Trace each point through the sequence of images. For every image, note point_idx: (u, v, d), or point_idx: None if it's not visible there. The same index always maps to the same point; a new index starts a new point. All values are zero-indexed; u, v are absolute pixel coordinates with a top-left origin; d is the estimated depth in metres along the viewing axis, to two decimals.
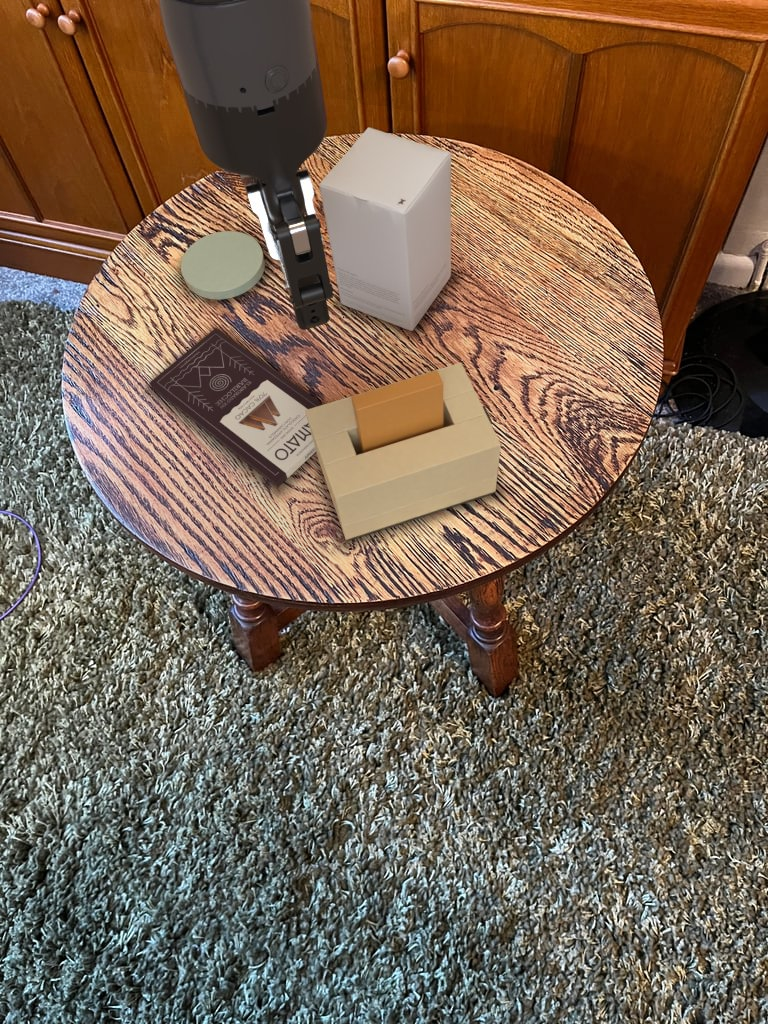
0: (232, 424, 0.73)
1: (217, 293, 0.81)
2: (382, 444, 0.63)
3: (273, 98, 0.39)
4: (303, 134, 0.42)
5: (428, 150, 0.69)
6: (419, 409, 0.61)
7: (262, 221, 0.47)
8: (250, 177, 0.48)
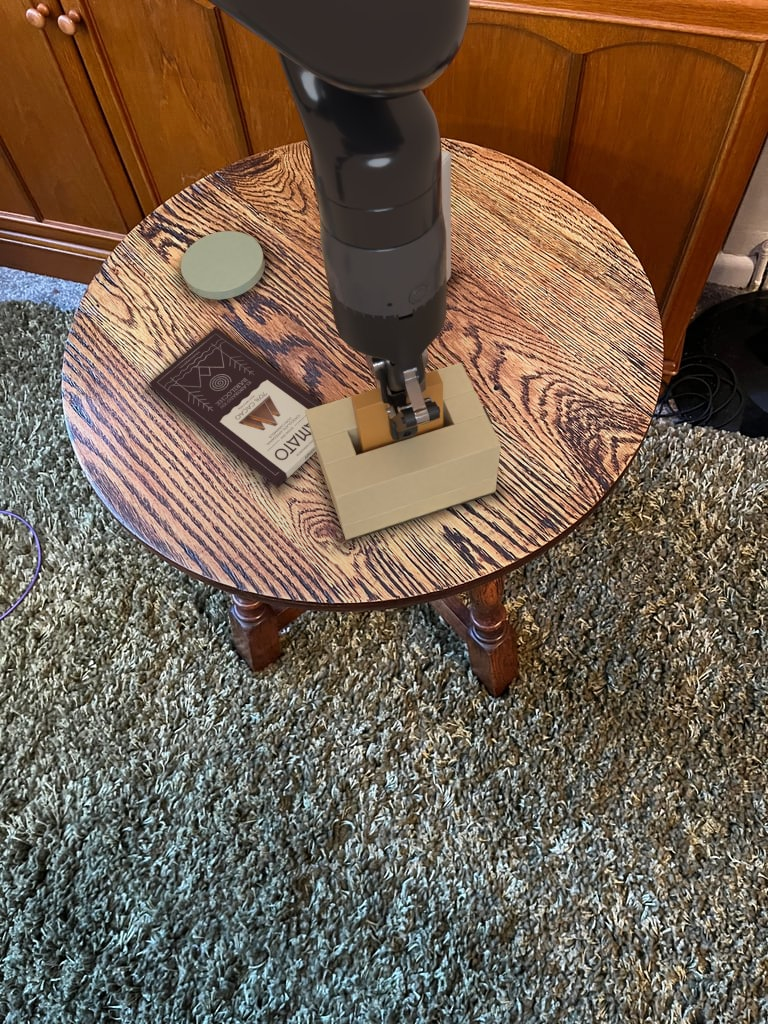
0: (232, 424, 0.73)
1: (217, 293, 0.81)
2: (382, 444, 0.63)
3: (413, 308, 0.46)
4: (431, 327, 0.49)
5: None
6: None
7: (381, 384, 0.54)
8: None
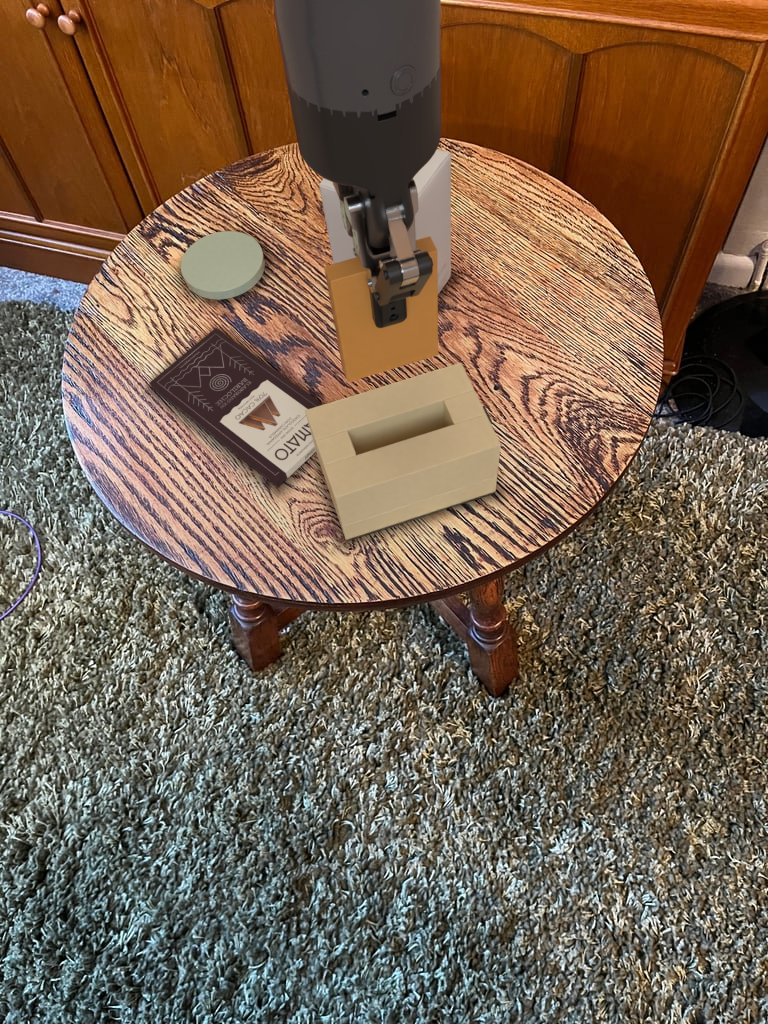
0: (232, 424, 0.73)
1: (217, 293, 0.81)
2: (364, 336, 0.52)
3: (396, 101, 0.35)
4: (421, 141, 0.38)
5: None
6: None
7: (360, 237, 0.43)
8: None
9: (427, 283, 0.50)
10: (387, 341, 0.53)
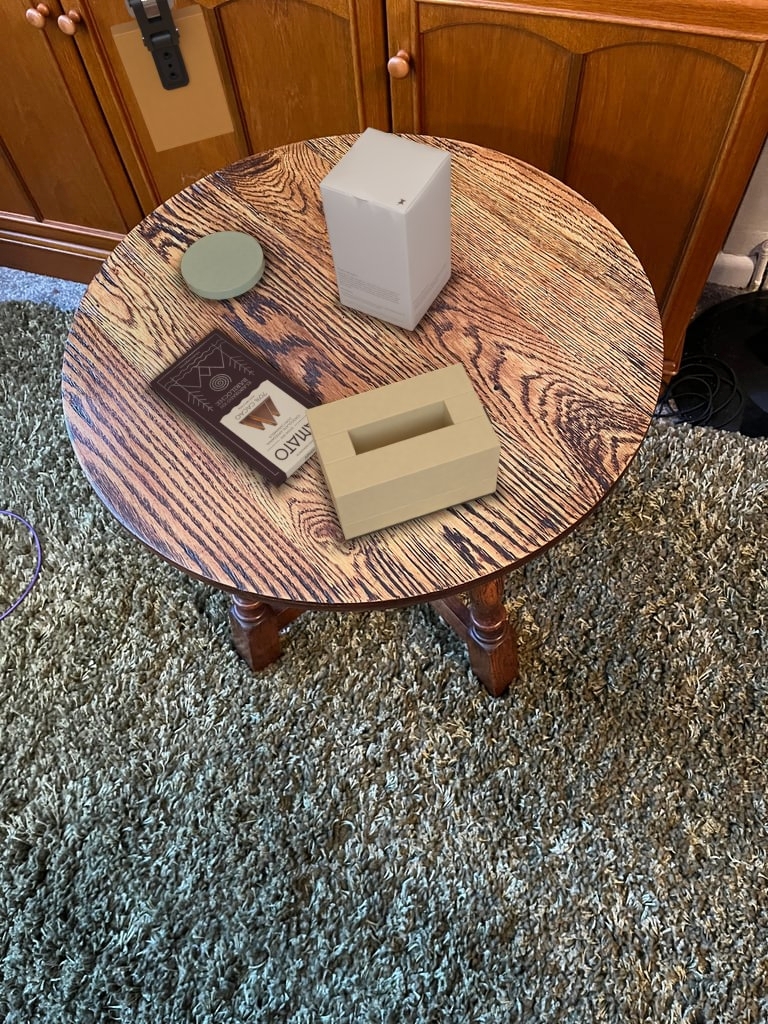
0: (232, 424, 0.73)
1: (217, 293, 0.81)
2: (158, 101, 0.63)
3: None
4: None
5: (428, 150, 0.69)
6: (185, 50, 0.60)
7: None
8: None
9: (202, 48, 0.61)
10: (182, 110, 0.64)
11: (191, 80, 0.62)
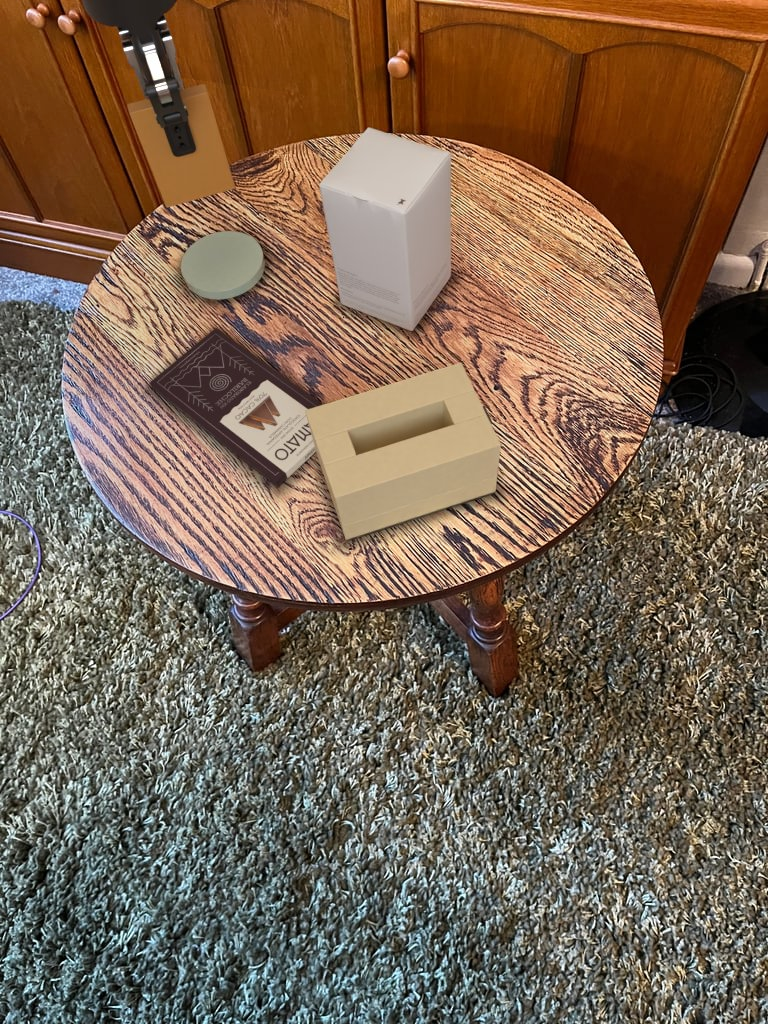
0: (232, 424, 0.73)
1: (217, 293, 0.81)
2: (168, 165, 0.71)
3: None
4: None
5: (428, 150, 0.69)
6: (192, 122, 0.69)
7: (137, 72, 0.62)
8: (129, 39, 0.63)
9: (207, 121, 0.69)
10: (189, 172, 0.73)
11: (197, 147, 0.71)
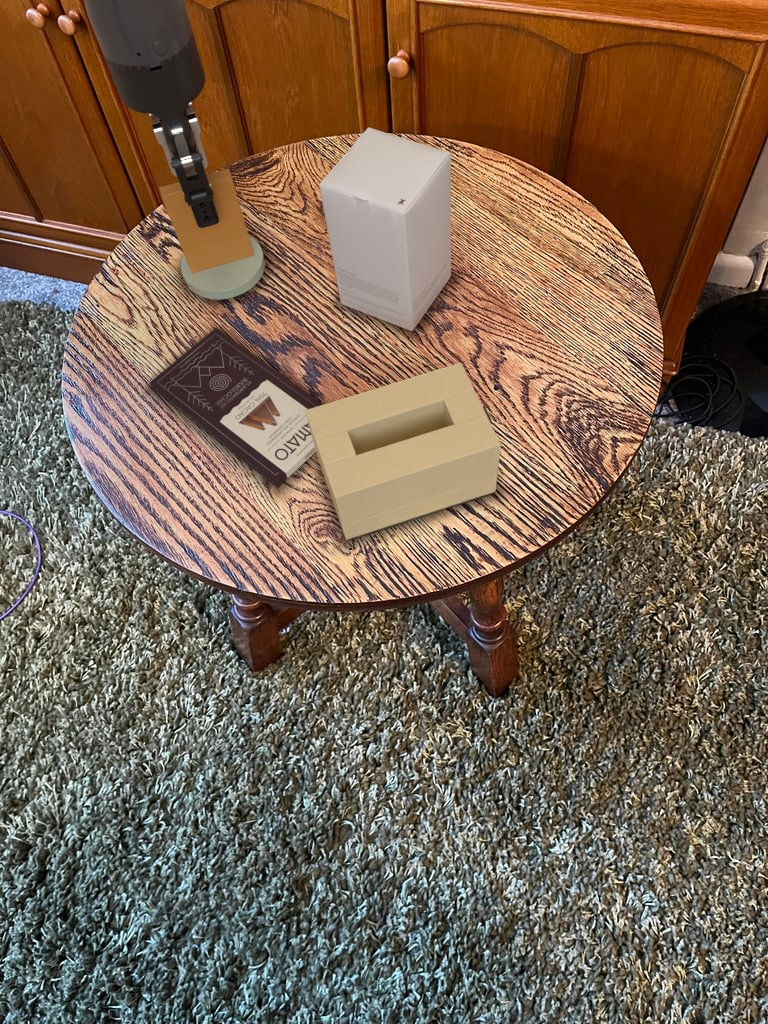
0: (232, 424, 0.73)
1: (217, 293, 0.81)
2: (195, 238, 0.79)
3: (160, 60, 0.60)
4: (184, 85, 0.63)
5: (428, 150, 0.69)
6: (217, 202, 0.76)
7: (165, 150, 0.68)
8: (158, 119, 0.69)
9: (230, 200, 0.77)
10: (213, 243, 0.80)
11: (221, 222, 0.78)
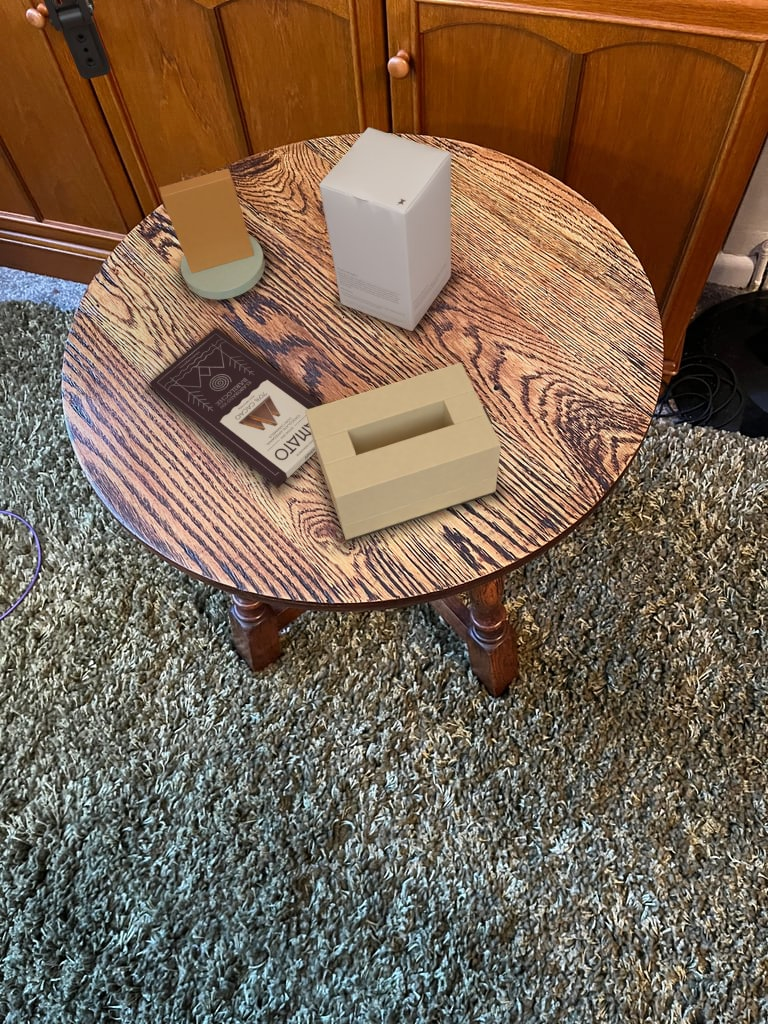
0: (232, 424, 0.73)
1: (217, 293, 0.81)
2: (195, 238, 0.79)
3: None
4: None
5: (428, 150, 0.69)
6: (217, 202, 0.76)
7: None
8: None
9: (230, 200, 0.77)
10: (213, 243, 0.80)
11: (221, 222, 0.78)
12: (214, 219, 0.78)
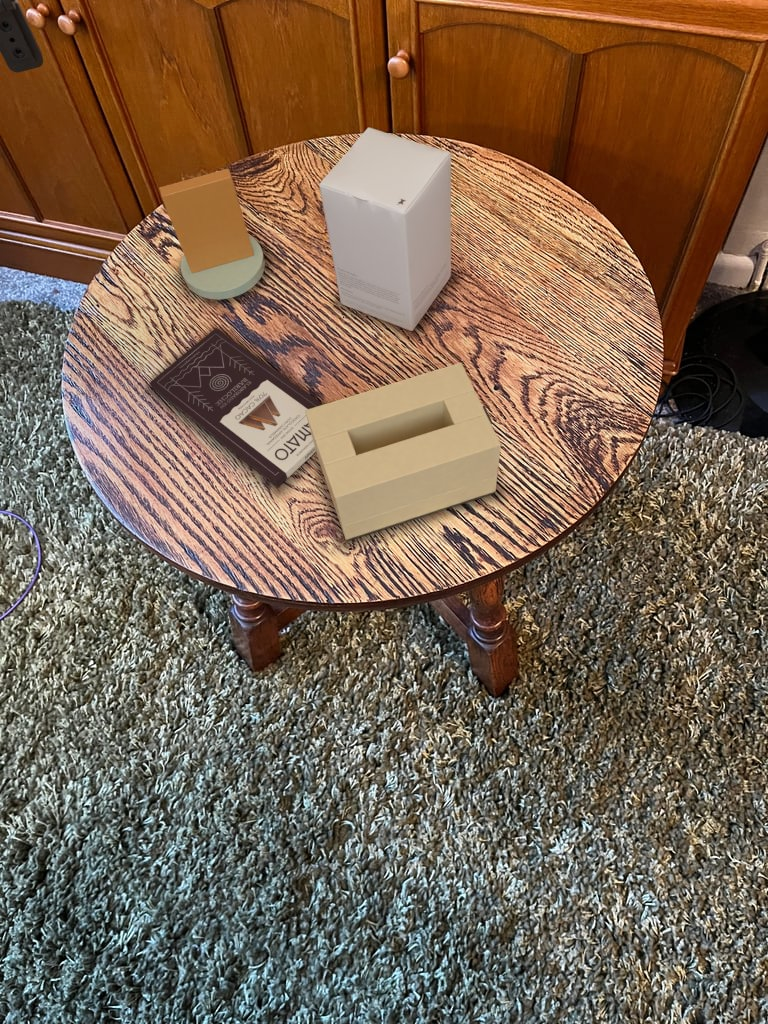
0: (232, 424, 0.73)
1: (217, 293, 0.81)
2: (195, 238, 0.79)
3: None
4: None
5: (428, 150, 0.69)
6: (217, 202, 0.76)
7: None
8: None
9: (230, 200, 0.77)
10: (213, 243, 0.80)
11: (221, 222, 0.78)
12: (214, 219, 0.78)
